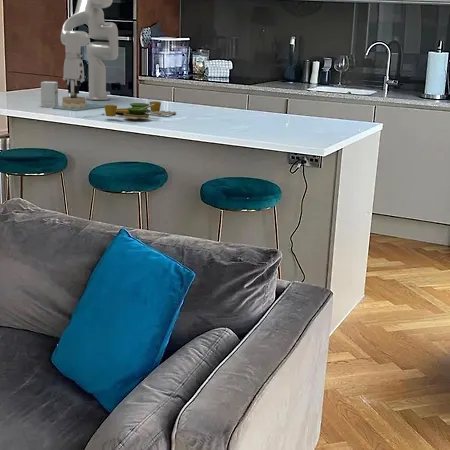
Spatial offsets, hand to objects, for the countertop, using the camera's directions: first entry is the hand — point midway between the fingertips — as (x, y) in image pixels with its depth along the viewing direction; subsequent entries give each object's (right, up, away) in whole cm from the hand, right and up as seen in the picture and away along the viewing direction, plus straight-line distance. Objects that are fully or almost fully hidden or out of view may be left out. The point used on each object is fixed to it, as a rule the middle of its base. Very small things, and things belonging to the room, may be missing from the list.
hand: (73, 93), depth 374 cm
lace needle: (0, -3, +1) cm, 3 cm away
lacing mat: (+3, -6, +8) cm, 11 cm away
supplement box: (-14, -6, +8) cm, 17 cm away
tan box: (0, -7, +2) cm, 7 cm away
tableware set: (+32, -12, -7) cm, 35 cm away
